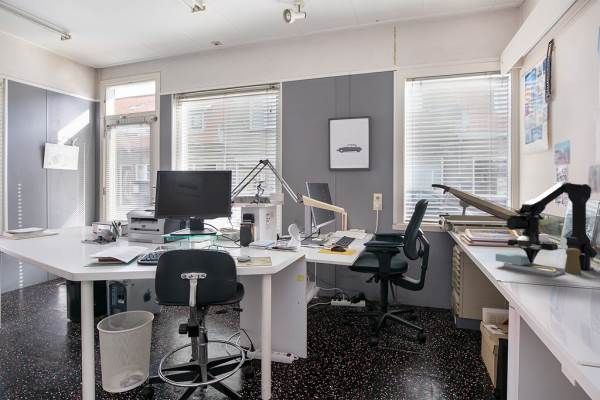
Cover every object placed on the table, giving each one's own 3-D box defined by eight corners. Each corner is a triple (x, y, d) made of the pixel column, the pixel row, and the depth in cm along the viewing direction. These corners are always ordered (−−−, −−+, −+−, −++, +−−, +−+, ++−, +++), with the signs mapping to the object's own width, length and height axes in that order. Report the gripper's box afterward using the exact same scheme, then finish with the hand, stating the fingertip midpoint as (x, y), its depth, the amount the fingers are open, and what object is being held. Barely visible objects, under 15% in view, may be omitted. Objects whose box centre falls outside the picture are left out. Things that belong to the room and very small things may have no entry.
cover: (508, 258, 167) (508, 251, 167) (533, 262, 157) (533, 255, 157) (495, 260, 161) (495, 253, 161) (520, 265, 151) (520, 257, 151)
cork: (584, 274, 145) (585, 249, 144) (568, 274, 146) (569, 249, 146) (576, 271, 151) (576, 247, 150) (561, 270, 152) (561, 247, 152)
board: (516, 264, 164) (516, 260, 164) (564, 273, 147) (564, 268, 147) (503, 268, 158) (503, 263, 158) (551, 277, 141) (551, 271, 141)
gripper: (501, 228, 156) (500, 261, 157) (546, 232, 140) (545, 269, 141) (513, 227, 162) (513, 258, 162) (558, 230, 146) (558, 265, 146)
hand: (531, 262), depth 153 cm, fingers closed
